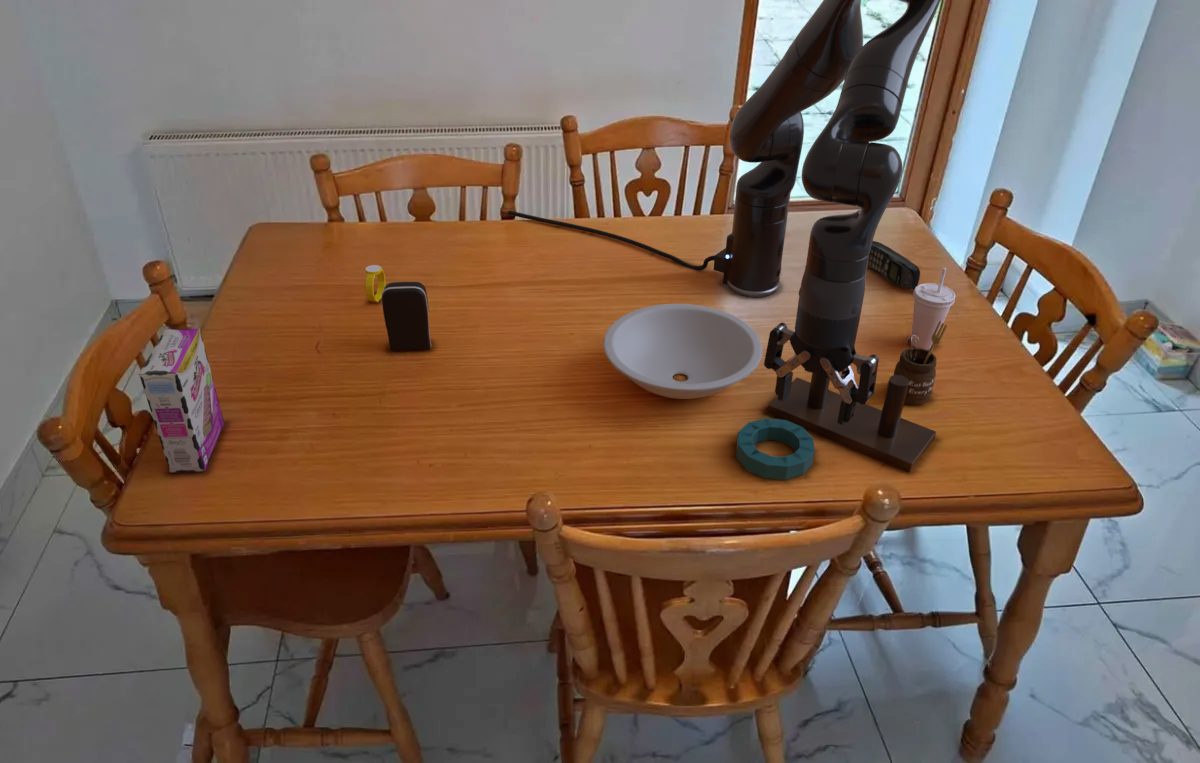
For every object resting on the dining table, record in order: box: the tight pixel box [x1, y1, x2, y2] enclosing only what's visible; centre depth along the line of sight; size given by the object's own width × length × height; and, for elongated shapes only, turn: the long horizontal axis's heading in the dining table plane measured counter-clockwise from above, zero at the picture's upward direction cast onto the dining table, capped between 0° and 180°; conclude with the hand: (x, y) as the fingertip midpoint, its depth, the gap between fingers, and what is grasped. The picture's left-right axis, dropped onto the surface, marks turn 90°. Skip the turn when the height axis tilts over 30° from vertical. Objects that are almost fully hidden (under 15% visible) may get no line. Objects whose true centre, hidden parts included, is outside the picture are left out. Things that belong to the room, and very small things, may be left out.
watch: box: [364, 264, 387, 303], centre depth 163 cm, size 6×3×6 cm, turn 171°
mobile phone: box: [867, 240, 921, 291], centre depth 170 cm, size 5×3×15 cm
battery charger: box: [381, 281, 432, 352], centre depth 149 cm, size 7×4×11 cm, turn 94°
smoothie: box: [910, 267, 956, 351], centre depth 149 cm, size 6×6×14 cm
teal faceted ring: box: [735, 417, 816, 481], centre depth 129 cm, size 10×10×2 cm
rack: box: [767, 373, 937, 473], centre depth 132 cm, size 22×9×10 cm, turn 53°
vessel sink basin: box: [603, 303, 763, 400], centre depth 143 cm, size 24×24×7 cm
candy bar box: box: [138, 327, 225, 474], centre depth 125 cm, size 11×5×16 cm, turn 5°
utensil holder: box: [893, 321, 948, 406], centre depth 138 cm, size 6×6×12 cm
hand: (812, 409), depth 122 cm, fingers open, 8 cm apart
